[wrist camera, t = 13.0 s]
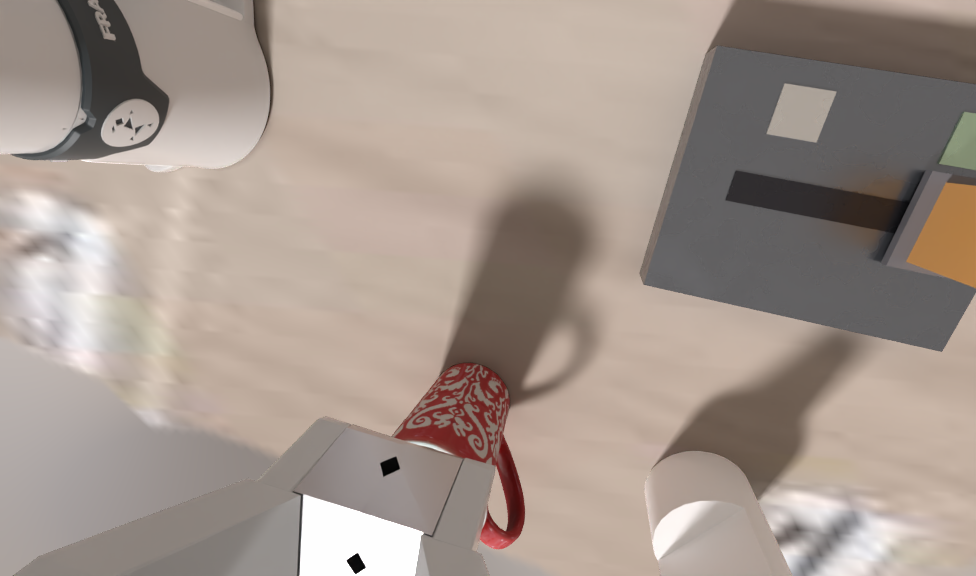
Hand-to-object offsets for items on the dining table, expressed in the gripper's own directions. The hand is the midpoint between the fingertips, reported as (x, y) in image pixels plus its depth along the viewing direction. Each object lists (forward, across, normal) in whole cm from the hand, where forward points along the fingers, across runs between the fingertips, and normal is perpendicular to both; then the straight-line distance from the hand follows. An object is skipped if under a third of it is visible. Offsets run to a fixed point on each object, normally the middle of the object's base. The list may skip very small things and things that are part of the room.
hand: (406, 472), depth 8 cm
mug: (+31, +2, +20) cm, 37 cm away
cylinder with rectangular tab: (+31, -18, +22) cm, 43 cm away
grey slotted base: (+31, -18, -4) cm, 36 cm away
